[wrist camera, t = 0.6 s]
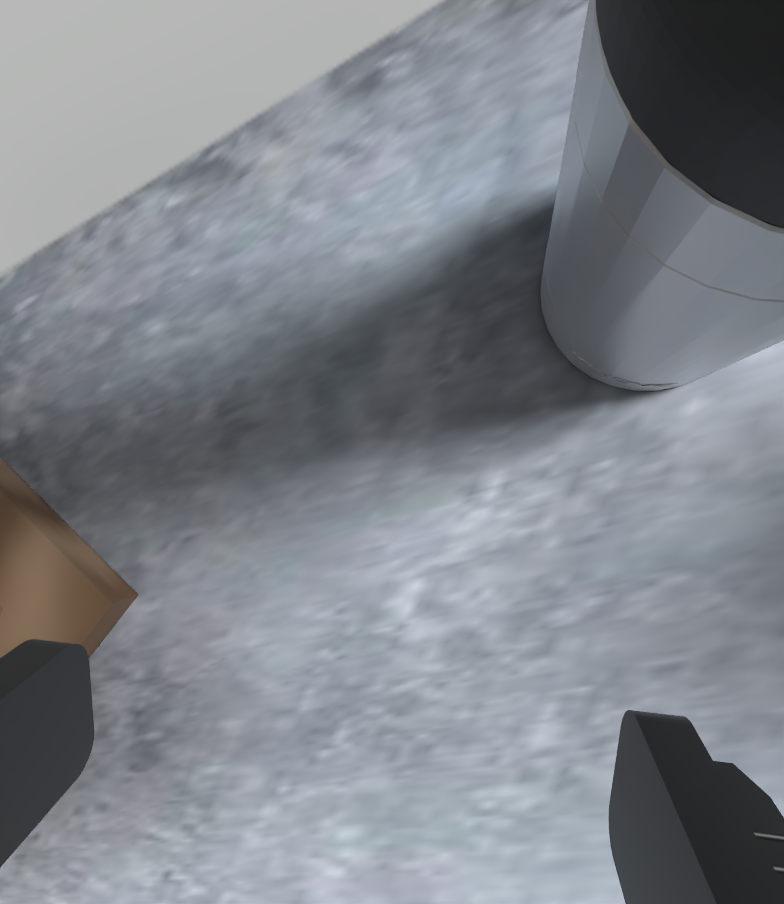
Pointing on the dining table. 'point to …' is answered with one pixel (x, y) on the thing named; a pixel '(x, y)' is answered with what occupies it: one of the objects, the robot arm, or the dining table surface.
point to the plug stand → (51, 576)
